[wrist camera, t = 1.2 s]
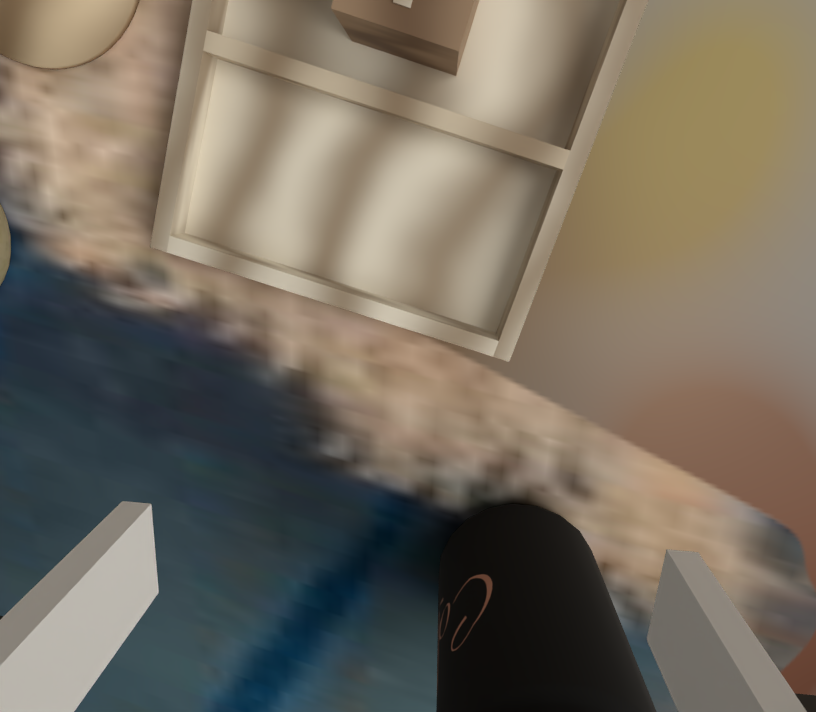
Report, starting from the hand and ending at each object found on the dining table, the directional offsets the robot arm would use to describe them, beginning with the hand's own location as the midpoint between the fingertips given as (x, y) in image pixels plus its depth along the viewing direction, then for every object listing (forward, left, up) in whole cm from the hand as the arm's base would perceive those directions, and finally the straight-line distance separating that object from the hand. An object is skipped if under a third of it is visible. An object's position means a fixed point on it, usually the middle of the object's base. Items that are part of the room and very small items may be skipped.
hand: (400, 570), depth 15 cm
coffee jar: (+11, -14, -23) cm, 29 cm away
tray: (-6, +12, -23) cm, 27 cm away
